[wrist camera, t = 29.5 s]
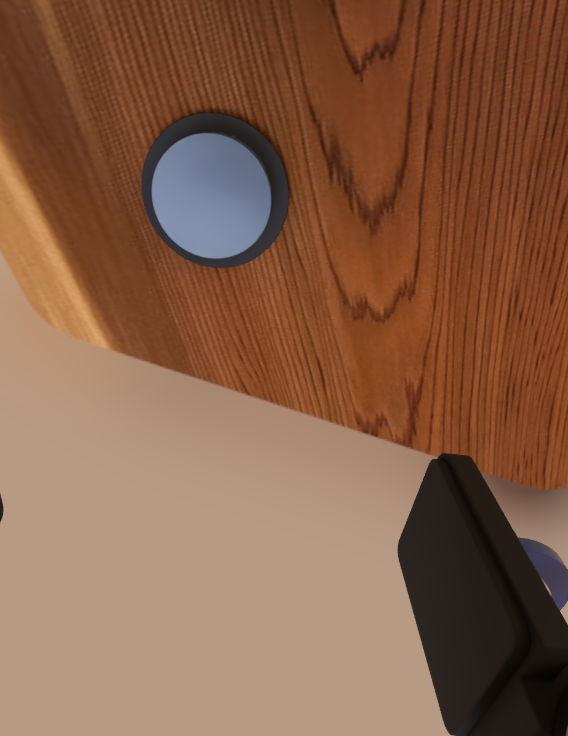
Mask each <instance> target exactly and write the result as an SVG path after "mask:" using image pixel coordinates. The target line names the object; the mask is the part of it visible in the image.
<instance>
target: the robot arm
mask: <svg viewBox="0 0 568 736" xmlns="http://www.w3.org/2000/svg"><path fill="white" fill-rule="evenodd" d="M2 516H3V503H2V499H1V495H0V521H1V519H2ZM398 557H399V562H400V566H401V569H402V573H403V576H404V580H405V584H406V587H407V591H408V595H409V598H410V602H411V605H412V609H413V612H414V616H415V620H416V624H417V627H418V631H419V635H420V638H421V642H422V645H423V649H424V653H425V656H426V660H427V663H428V667H429V671H430V674H431V678H432V682H433V685H434V689H435V693H436V696H437V700H438V703H439V707H440V711H441V714H442V718H443V721H444V724H445V727H446V729H447V731H448V732H449V734H450V735H454V736H568V625H567V623H566V621H565V619H564V618H563V616H562V614H561V612H560V611H559V609H558V607H557V605H556V604H555V602H554V600H553V598H552V597H551V593H550V590H549V588H548V587H547V585H546V583H545V582H544V580H543V579H542V578H541V577H540V576H539V574H538V572H537V570H536V569H535V567H534V565H533V563H532V562H531V560H530V558H529V556H528V555H527V553H526V551H525V549H524V548H523V546H522V544H521V542H520V541H519V539H518V537H517V536H516V534H515V532H514V531H513V529H512V527H511V525H510V524H509V522H508V520H507V518H506V517H505V515H504V513H503V512H502V510H501V508H500V506H499V504H498V503H497V501H496V499H495V497H494V496H493V494H492V492H491V491H490V489H489V487H488V485H487V483H486V482H485V480H484V478H483V477H482V475H481V473H480V471H479V469H478V468H477V466H476V464H475V462H474V461H473V459H472V458H471V457H469V456H466V455H456V454H446V453H443V454H441V455H440V456H439V457H438V459H432V460H431V462H430V463H429V466H428V468H427V471H426V473H425V476H424V478H423V481H422V483H421V486H420V489H419V491H418V494H417V496H416V499H415V501H414V504H413V507H412V509H411V512H410V514H409V517H408V519H407V522H406V524H405V527H404V529H403V532H402V534H401V537H400V539H399V543H398Z"/></svg>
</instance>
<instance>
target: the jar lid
mask: <svg viewBox="0 0 568 736" xmlns="http://www.w3.org/2000/svg"><path fill="white" fill-rule="evenodd" d="M152 202H153V207H154V210H155V213H156V216H157V218H158V221H159V223H160V224H161V226H162V228H163V229H164V231H165V232H166V233H167V235H168V236H169V237H170V238H171V239H172V240H173V241H174V242H175V243H176V244H177V245H179V246H180V247H181V248H183V249H185V250H186V251H188V252H190V253H192V254H194V255H197V256H200V257H205V258H213V259H219V258H227V257H231V256H234V255H237V254H239V253H241V252H243V251H245V250H246V249H248V248H249V247H250V246H252V245H253V244H254V243H255V242H256V241H257V239H258V238H259V237H260V236H261V234H262V233H263V231H264V229H265V227H266V225H267V222H268V219H269V216H270V211H271V186H270V181H269V178H268V174H267V172H266V170H265V167H264V165H263V164H262V162H261V160H260V159H259V157H258V156H257V155H256V154H255V152H254V151H253V150H252V149H251V148H250V147H249V146H247V145H246V144H245V143H243V142H242V141H240V140H239V139H237V138H235V136H230V135H228V134H224V133H220V132H201V133H196V134H193V135H190V136H187V137H185V138H183V139H181V140H179V141H177V142H176V143H174V144H173V145H172V146H171V147H170V148H169V149H168V150H167V151H166V152H165V153H164V154H163V156H162V157H161V159H160V160H159V162H158V164H157V166H156V169H155V172H154V175H153V180H152Z"/></svg>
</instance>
